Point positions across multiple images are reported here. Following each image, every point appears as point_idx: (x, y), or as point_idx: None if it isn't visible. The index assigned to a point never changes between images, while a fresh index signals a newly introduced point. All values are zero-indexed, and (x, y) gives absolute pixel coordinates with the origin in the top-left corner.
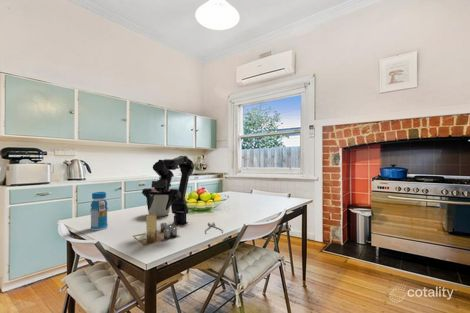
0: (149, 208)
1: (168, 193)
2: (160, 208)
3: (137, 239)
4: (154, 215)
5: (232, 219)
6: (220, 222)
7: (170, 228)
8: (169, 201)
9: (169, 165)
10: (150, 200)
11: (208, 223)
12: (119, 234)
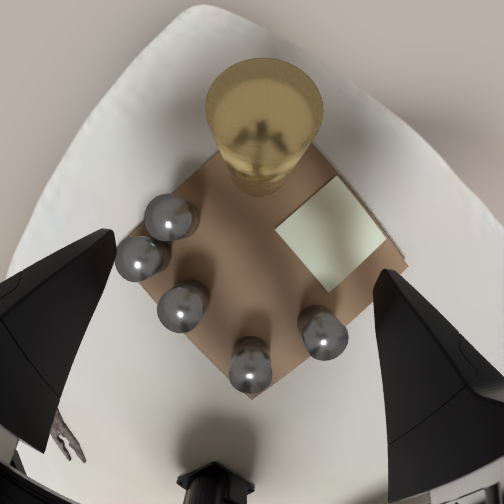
0: (379, 294)
1: (2, 489)
2: None
3: (356, 200)
4: (221, 90)
5: (33, 471)
6: (50, 456)
7: (154, 254)
8: (6, 281)
9: None
10: (430, 393)
11: (78, 452)
12: (468, 311)
